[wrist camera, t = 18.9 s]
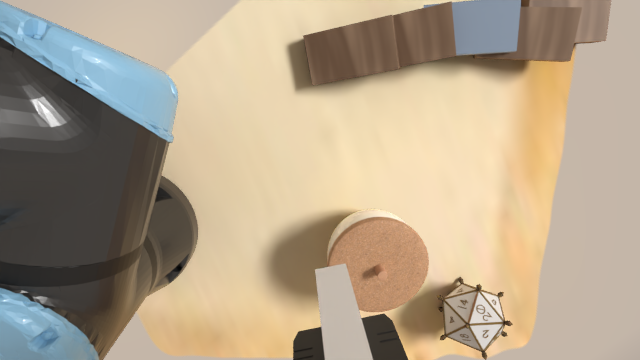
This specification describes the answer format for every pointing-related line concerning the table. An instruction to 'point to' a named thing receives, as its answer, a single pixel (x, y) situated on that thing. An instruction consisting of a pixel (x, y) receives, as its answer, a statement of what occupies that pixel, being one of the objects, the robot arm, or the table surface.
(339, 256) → the lidded jar
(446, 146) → the table surface
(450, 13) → the domino
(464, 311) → the game die
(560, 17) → the domino
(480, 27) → the domino
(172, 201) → the robot arm
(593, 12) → the domino
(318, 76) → the domino
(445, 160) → the table surface
